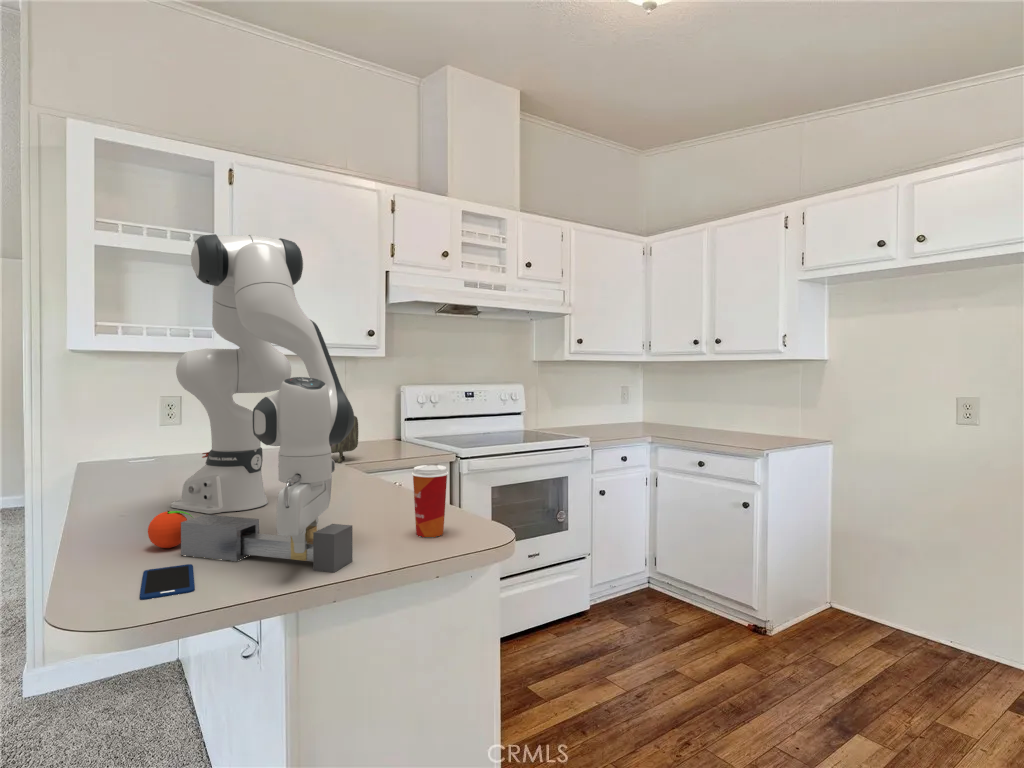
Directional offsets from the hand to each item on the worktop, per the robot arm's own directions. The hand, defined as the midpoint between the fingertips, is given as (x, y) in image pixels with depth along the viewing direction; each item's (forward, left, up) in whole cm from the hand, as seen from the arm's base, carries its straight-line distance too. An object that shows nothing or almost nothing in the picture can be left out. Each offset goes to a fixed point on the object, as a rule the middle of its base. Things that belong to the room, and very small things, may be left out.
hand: (305, 546), depth 105 cm
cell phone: (-16, -14, -3) cm, 21 cm away
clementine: (-30, +1, -3) cm, 30 cm away
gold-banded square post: (-4, 0, -3) cm, 5 cm away
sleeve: (-18, 0, -3) cm, 18 cm away
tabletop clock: (-56, +103, -3) cm, 117 cm away
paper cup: (+14, +23, -3) cm, 27 cm away
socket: (+6, 0, -3) cm, 6 cm away
